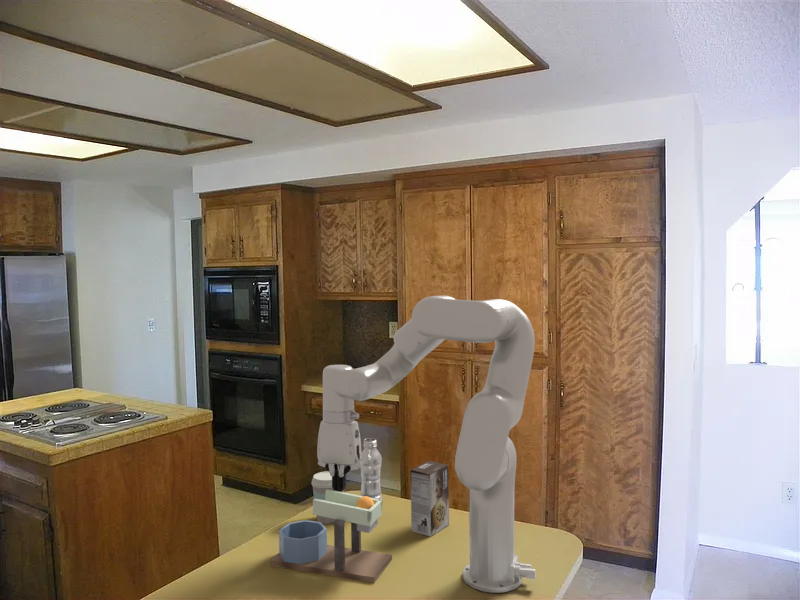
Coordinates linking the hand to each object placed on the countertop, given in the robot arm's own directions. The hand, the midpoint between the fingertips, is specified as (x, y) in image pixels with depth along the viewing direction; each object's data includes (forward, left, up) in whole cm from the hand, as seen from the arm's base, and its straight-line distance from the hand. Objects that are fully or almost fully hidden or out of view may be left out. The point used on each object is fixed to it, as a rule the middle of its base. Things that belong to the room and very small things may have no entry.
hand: (338, 491), depth 143 cm
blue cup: (+5, +9, -12) cm, 16 cm away
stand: (-2, +9, -13) cm, 16 cm away
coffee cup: (+10, -13, -14) cm, 22 cm away
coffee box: (-18, -16, -14) cm, 28 cm away
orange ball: (-10, +9, +1) cm, 13 cm away
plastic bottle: (+1, -22, -14) cm, 26 cm away
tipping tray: (-6, +6, -4) cm, 9 cm away
